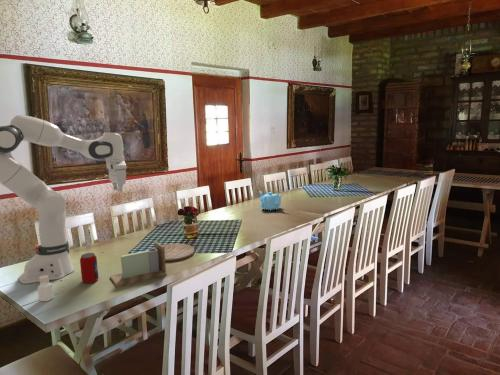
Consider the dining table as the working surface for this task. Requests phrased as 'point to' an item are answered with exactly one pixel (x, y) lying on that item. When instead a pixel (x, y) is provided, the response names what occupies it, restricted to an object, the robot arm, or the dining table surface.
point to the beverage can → (89, 267)
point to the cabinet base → (121, 281)
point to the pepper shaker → (45, 289)
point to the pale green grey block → (140, 263)
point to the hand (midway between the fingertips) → (118, 191)
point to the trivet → (177, 252)
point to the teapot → (270, 201)
